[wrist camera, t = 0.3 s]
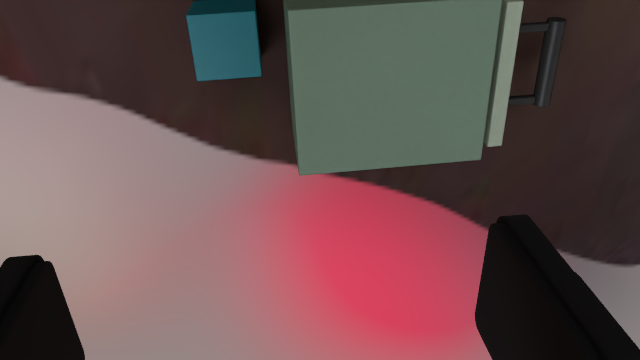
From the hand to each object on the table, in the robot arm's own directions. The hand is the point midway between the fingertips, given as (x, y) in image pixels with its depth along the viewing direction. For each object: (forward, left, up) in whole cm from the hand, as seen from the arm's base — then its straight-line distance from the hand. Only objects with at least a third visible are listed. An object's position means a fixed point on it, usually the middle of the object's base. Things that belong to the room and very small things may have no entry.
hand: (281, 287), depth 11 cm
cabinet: (+6, +9, -36) cm, 37 cm away
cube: (+3, -3, -36) cm, 36 cm away
